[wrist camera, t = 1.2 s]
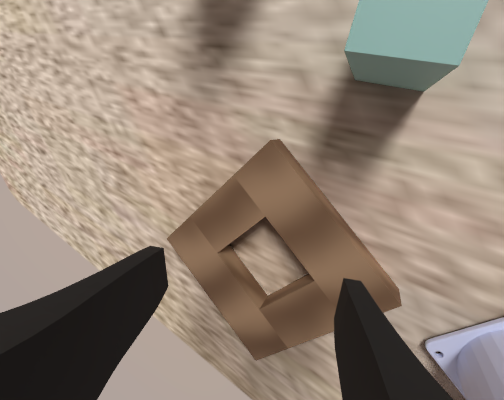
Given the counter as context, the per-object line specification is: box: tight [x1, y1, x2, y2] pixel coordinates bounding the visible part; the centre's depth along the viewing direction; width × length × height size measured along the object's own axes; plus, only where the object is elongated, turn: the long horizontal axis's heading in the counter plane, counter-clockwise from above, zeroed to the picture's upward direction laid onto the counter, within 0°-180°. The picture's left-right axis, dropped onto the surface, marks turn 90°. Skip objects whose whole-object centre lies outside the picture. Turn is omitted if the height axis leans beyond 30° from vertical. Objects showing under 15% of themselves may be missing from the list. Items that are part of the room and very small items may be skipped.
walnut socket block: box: [167, 139, 401, 360], centre depth 21 cm, size 14×14×2 cm
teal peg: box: [344, 0, 488, 91], centre depth 12 cm, size 4×4×7 cm
